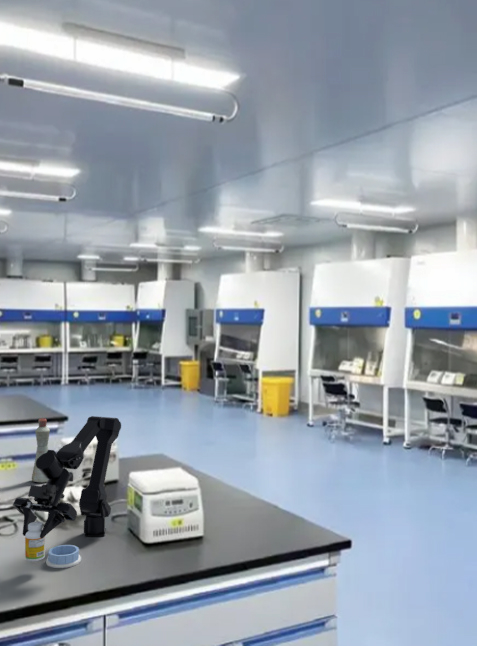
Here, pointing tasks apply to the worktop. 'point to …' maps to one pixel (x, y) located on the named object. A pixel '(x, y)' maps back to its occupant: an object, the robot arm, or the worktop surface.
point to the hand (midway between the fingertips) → (32, 536)
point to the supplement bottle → (34, 542)
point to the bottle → (41, 449)
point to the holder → (63, 556)
